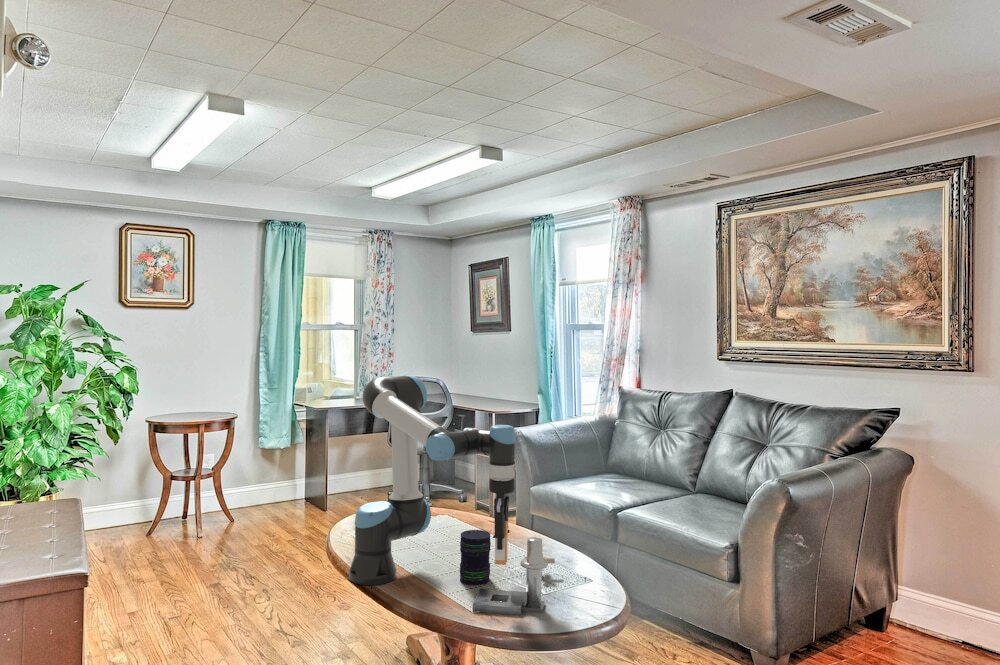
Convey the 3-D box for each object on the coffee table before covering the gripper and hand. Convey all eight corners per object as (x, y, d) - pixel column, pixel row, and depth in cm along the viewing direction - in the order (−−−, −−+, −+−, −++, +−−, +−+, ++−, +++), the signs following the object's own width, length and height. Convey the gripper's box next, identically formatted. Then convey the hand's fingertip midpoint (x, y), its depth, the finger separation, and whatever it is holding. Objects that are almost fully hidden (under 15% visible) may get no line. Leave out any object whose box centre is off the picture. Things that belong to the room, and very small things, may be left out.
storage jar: (496, 580, 226) (497, 534, 226) (475, 588, 219) (476, 540, 218) (474, 572, 233) (475, 527, 232) (453, 580, 225) (453, 534, 225)
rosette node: (472, 611, 201) (473, 542, 201) (480, 595, 213) (481, 530, 213) (545, 617, 198) (546, 546, 198) (548, 600, 210) (550, 534, 210)
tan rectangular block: (494, 564, 204) (495, 523, 204) (496, 560, 208) (497, 520, 208) (505, 564, 204) (506, 523, 204) (507, 561, 207) (507, 520, 207)
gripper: (510, 484, 197) (509, 567, 197) (518, 473, 213) (517, 549, 213) (484, 483, 198) (483, 566, 198) (494, 472, 214) (493, 548, 214)
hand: (501, 557), depth 206 cm, fingers closed on tan rectangular block, 3 cm apart
